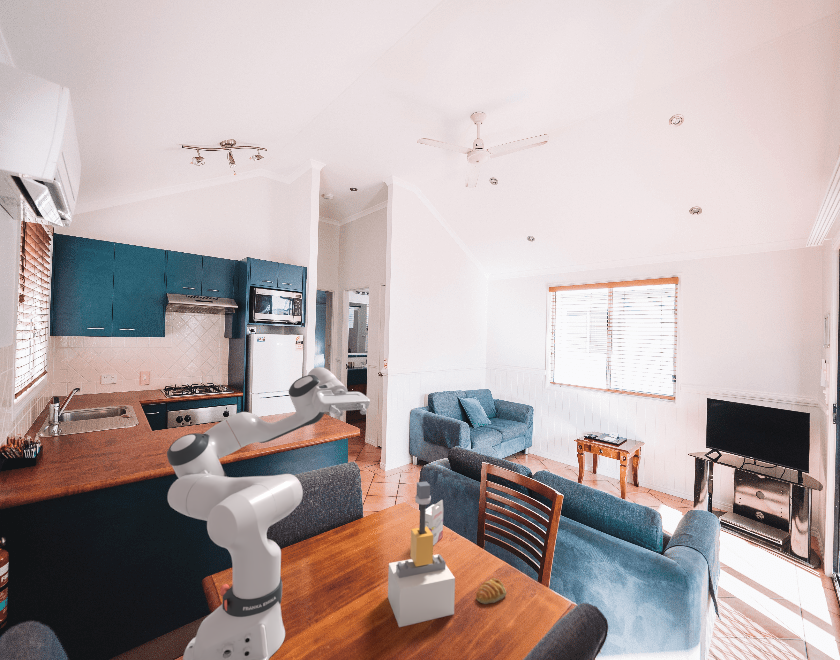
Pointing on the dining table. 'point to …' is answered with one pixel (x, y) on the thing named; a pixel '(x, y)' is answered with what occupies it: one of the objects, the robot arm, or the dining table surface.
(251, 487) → the robot arm
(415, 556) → the sleeve
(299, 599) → the dining table surface
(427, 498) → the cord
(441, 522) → the ink cartridge box
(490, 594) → the pastry
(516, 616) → the dining table surface
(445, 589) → the comb base
